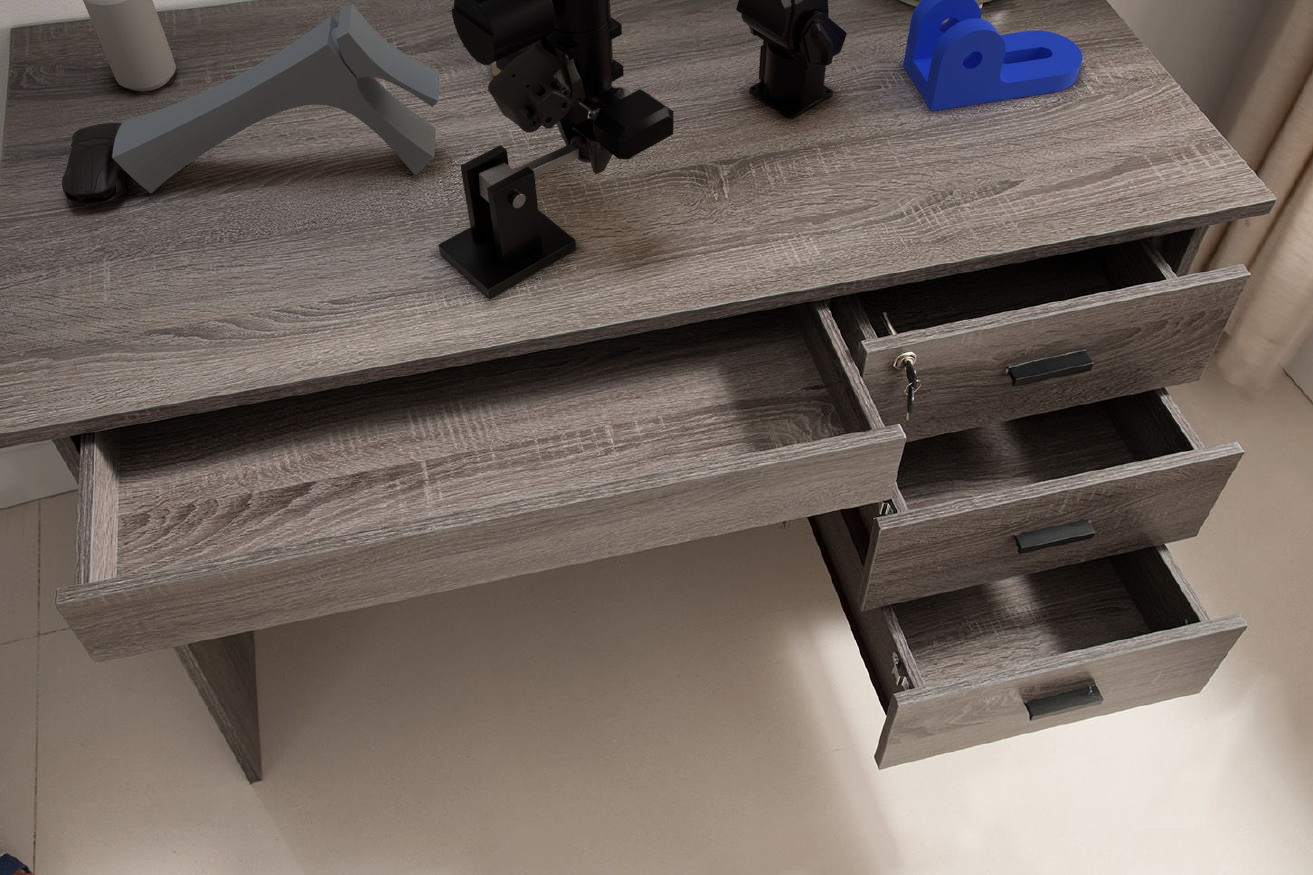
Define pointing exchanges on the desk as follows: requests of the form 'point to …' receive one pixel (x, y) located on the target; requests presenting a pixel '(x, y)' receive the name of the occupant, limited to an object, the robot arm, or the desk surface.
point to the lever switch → (503, 229)
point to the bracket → (982, 57)
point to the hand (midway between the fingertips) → (587, 163)
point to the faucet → (291, 100)
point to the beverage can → (133, 42)
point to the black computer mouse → (94, 167)
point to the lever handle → (538, 163)
